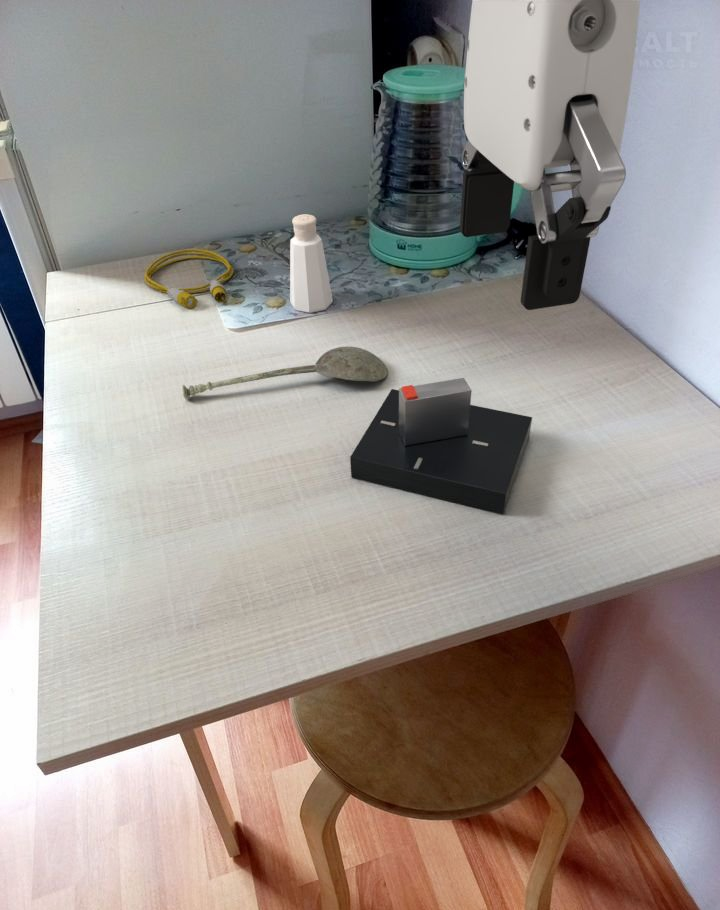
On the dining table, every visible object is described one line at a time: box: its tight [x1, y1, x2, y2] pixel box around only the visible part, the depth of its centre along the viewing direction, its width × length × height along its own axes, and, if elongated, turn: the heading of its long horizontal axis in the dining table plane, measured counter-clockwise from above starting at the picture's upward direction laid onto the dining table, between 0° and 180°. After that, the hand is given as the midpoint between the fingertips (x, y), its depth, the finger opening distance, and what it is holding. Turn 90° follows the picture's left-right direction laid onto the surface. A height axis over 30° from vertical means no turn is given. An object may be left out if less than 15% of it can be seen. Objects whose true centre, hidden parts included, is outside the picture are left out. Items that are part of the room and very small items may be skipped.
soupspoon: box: [181, 346, 389, 402], centre depth 75 cm, size 22×3×7 cm
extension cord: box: [144, 248, 235, 309], centre depth 94 cm, size 12×16×2 cm
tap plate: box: [349, 388, 533, 515], centre depth 65 cm, size 14×11×3 cm
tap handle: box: [398, 377, 472, 446], centre depth 63 cm, size 6×2×5 cm, turn 103°
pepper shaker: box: [289, 213, 334, 314], centre depth 86 cm, size 5×5×11 cm
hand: (513, 265), depth 42 cm, fingers open, 9 cm apart
